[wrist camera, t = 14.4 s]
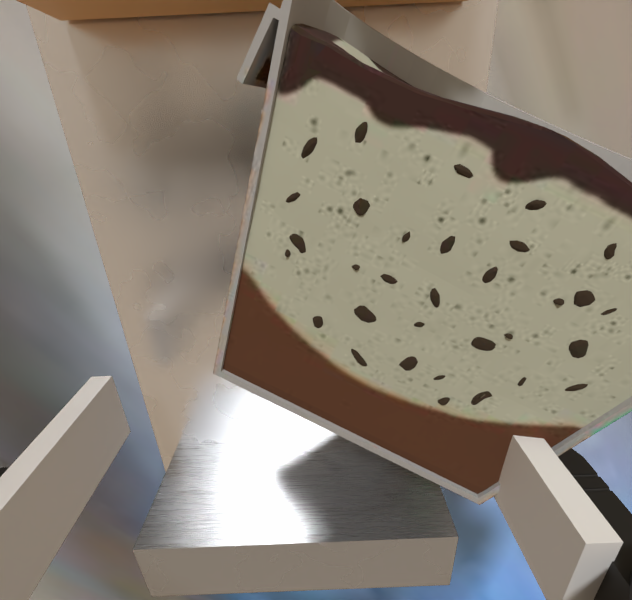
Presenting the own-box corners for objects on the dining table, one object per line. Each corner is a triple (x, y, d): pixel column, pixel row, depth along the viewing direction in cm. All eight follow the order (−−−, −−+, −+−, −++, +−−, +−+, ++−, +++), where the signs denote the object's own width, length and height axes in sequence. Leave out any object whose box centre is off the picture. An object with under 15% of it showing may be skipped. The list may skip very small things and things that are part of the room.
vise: (176, 471, 20) (126, 597, 15) (-64, -381, 8) (-737, -1312, 3) (429, 461, 20) (474, 583, 14) (534, -413, 8) (948, -1431, 3)
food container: (488, 392, 17) (683, 190, 11) (522, 526, 11) (914, 263, 6) (247, 274, 17) (333, 21, 12) (170, 352, 11) (266, -50, 6)
